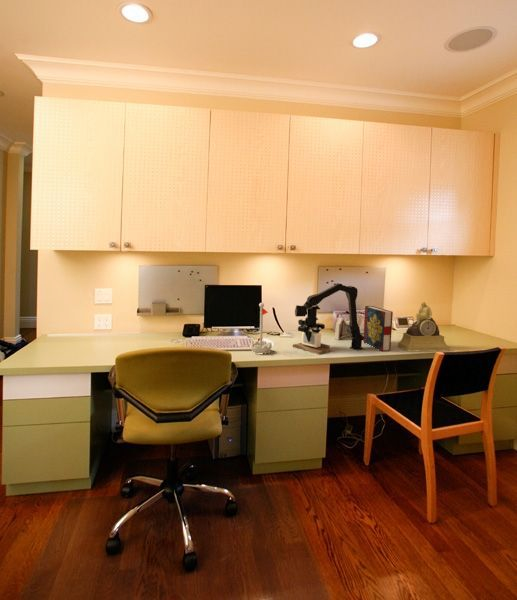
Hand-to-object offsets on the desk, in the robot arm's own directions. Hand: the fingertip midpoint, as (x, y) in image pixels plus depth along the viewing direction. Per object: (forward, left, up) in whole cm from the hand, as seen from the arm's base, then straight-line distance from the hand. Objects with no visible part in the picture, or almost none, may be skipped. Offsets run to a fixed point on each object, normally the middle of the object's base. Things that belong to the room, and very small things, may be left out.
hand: (311, 341), depth 244 cm
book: (-40, +20, -6) cm, 45 cm away
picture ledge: (0, 0, -5) cm, 5 cm away
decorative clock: (-61, +41, -6) cm, 74 cm away
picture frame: (0, 0, -2) cm, 3 cm away
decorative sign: (-45, -9, -6) cm, 46 cm away
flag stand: (+29, -14, -6) cm, 33 cm away
